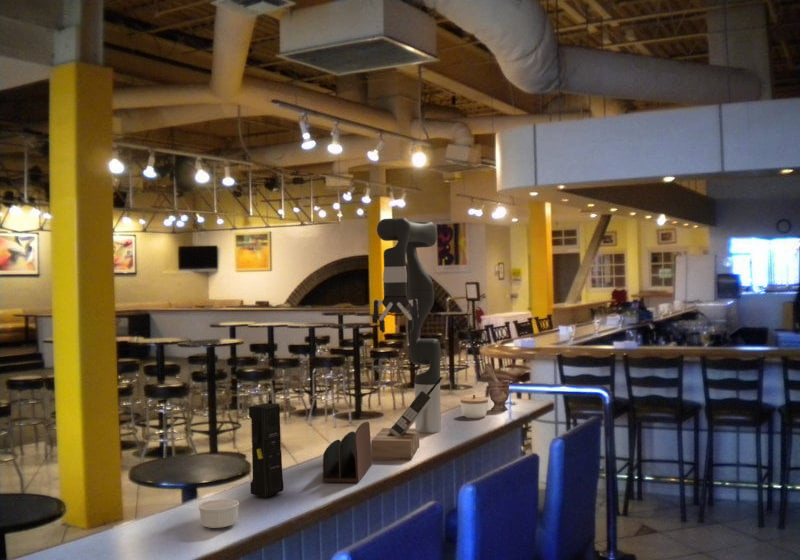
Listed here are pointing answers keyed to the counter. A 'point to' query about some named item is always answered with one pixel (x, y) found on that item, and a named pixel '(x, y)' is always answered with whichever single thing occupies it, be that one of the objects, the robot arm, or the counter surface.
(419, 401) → the vintage mobile phone
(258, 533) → the counter surface
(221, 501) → the ramekin
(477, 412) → the lidded jar
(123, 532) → the counter surface
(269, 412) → the portable radio
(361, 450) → the letter holder
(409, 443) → the walnut dock rack
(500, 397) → the mortar and pestle
